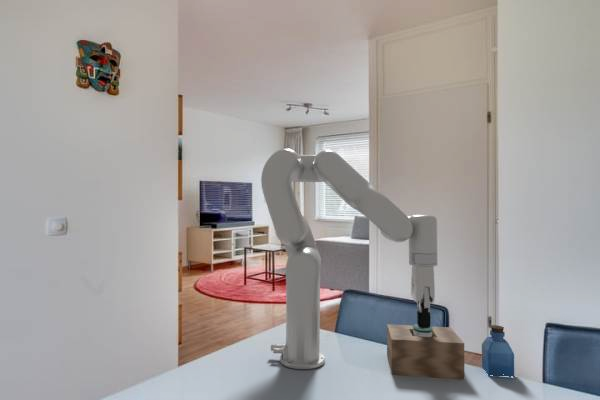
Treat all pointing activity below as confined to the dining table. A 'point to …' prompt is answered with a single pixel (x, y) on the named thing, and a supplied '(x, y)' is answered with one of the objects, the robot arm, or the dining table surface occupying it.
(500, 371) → the perfume bottle
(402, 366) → the housing
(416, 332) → the plunger
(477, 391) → the dining table surface
